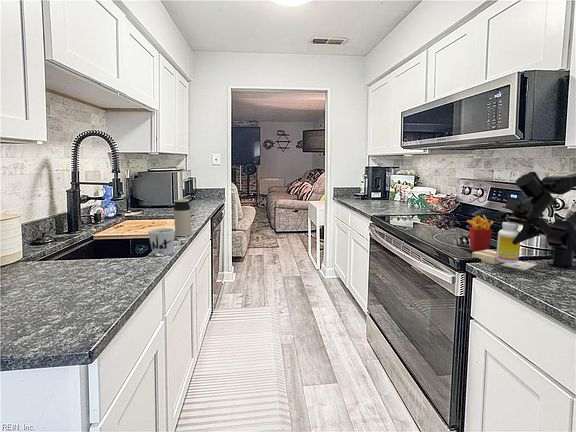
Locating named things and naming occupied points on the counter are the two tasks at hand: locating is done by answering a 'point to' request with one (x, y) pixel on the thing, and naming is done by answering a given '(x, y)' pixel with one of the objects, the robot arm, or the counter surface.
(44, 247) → the counter surface
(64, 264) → the counter surface
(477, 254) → the base block
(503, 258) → the supplement bottle
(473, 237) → the french fries
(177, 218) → the travel mug
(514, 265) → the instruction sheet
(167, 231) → the mug
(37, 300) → the counter surface
